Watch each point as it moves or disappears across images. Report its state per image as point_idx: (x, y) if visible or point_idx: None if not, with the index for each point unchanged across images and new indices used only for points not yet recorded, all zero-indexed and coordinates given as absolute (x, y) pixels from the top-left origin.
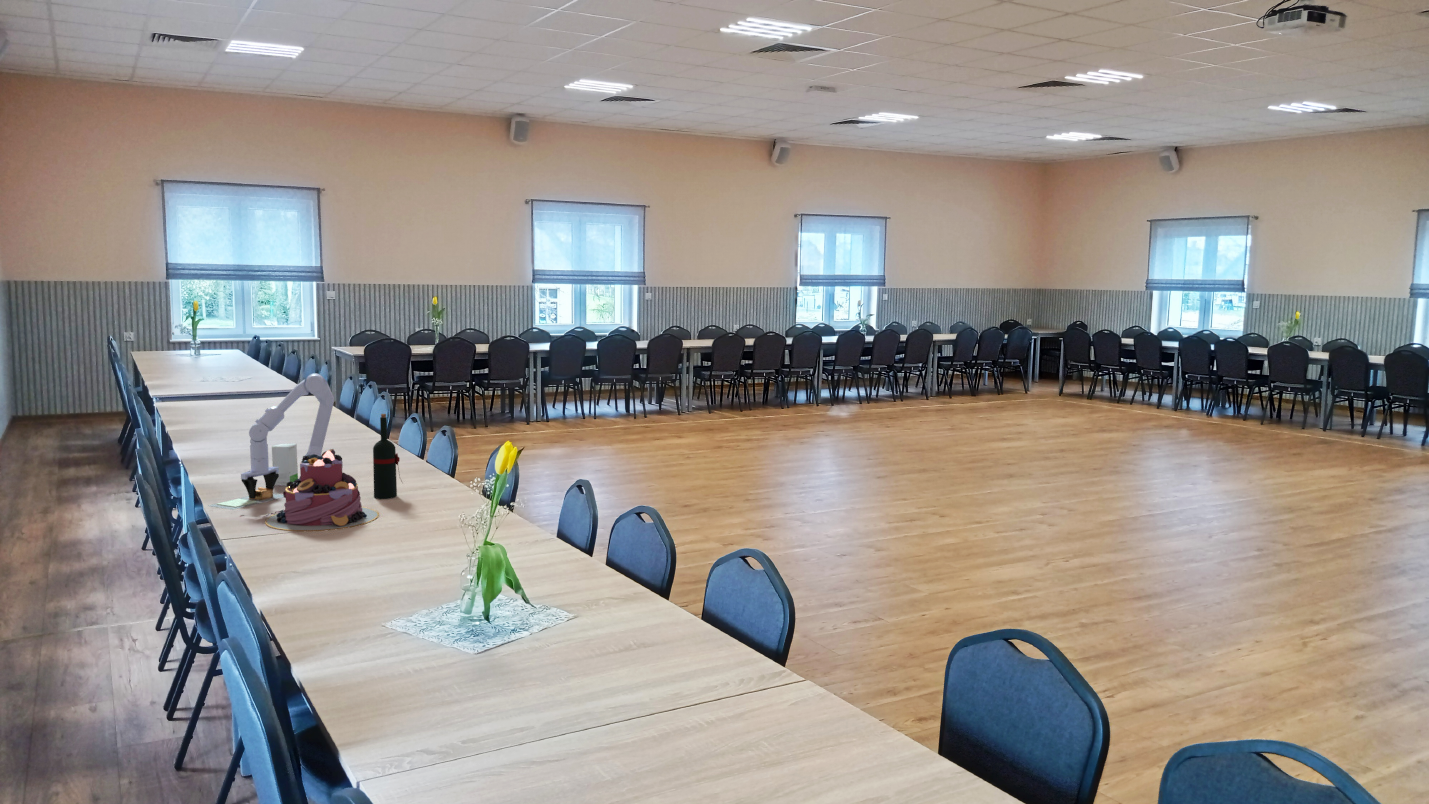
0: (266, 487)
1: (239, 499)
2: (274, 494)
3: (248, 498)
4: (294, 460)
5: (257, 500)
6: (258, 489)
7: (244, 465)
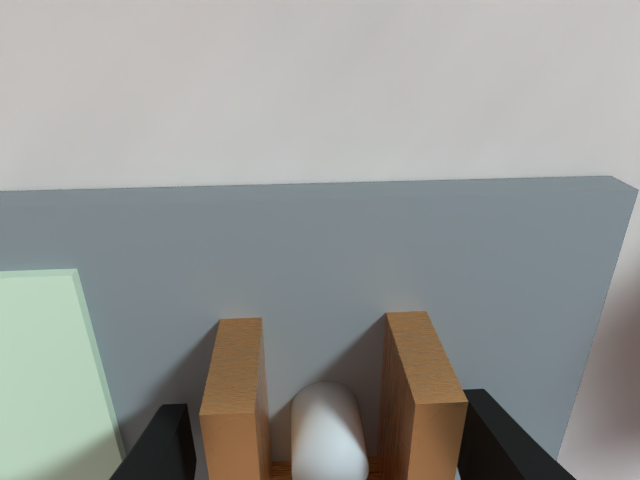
0: (501, 464)
1: (49, 323)
2: (543, 390)
3: (206, 322)
4: None
5: (199, 472)
6: (408, 387)
7: None
